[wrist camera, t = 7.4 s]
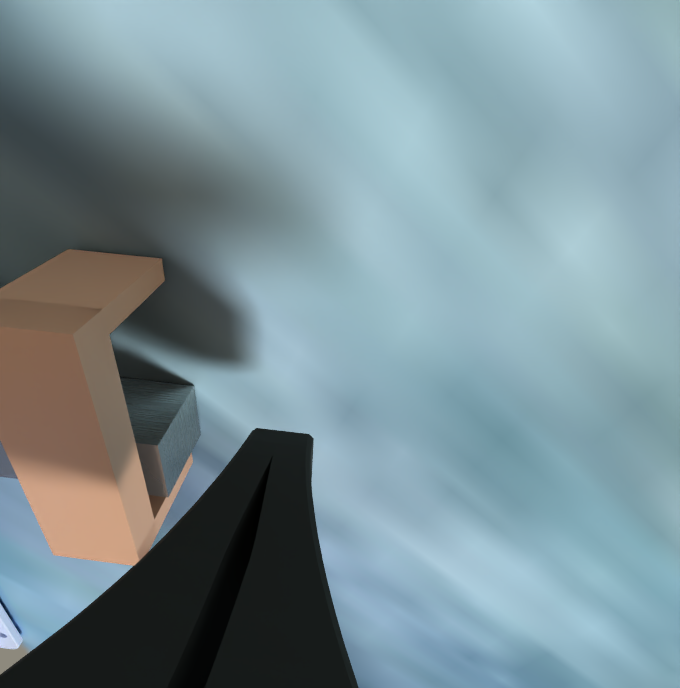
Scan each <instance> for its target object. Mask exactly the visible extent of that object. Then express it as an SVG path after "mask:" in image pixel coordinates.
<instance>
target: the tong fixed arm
mask: <svg viewBox="0 0 680 688" xmlns="http://www.w3.org/2000/svg"><path fill="white" fill-rule="evenodd" d="M120 381H121V385H122V389H123V393H124V397H125V401H126V405H127V409H128V414H129V418H130V422H131V426H132V430H133V434H134V438H135V442H136V446H137V451H138V455H139V459H140V463H141V467H142V471H143V475H144V479H145V483H146V488H147V492H148V495H153V496H161V497H169V495H170V494H171V492H172V490H173V488H174V486H175V484H176V482H177V480H178V478H179V476H180V474H181V472H182V470H183V468H184V466H185V464H186V462H187V460H188V458H189V456H190V454H191V452H192V450H193V448H194V446H195V444H196V442H197V441H198V439H199V437H200V435H201V434H200V427H199V419H198V412H197V404H196V397H195V390H194V386H192V385H183V384H174V383H165V382H157V381H148V380H139V379H130V378H121V377H120ZM0 477H8V478H16V479H18V477H17V475H16V473H15V471H14V469H13V467H12V465H11V462H10V460H9V458H8V456H7V454H6V452H5V449H4V447H3V445H2V443H1V441H0Z"/></svg>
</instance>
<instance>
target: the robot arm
mask: <svg viewBox="0 0 680 688" xmlns="http://www.w3.org/2000/svg"><path fill="white" fill-rule="evenodd" d="M312 459H313V438H312V437H311V436H310V435H309V434H303V433H294V432H286V431H277V430H269V429H260V428H256V429H255V430H253V431H252V432H251V433H250V435H249V436H248V438H247V439H246V441H245V442H244V444H243V445H242V446H241V448H240V449H239V450H238V452H237V453H236V454H235V456H234V457H233V458H232V460H231V461H230V462H229V463H228V465H227V466H226V467H225V469H224V470H223V471H222V472H221V474H220V475H219V476H218V477H217V478H216V480H215V481H214V482H213V483H212V484H211V485H210V487H209V488H208V489H207V490H206V491H205V493H204V494H203V495H202V496H201V497H200V498H199V500H198V501H197V502H196V503H195V504H194V505H193V506H192V507H191V508H190V510H189V511H188V512H187V513H186V514H185V515H184V516H183V517H182V518H181V519H180V520H179V521H178V522H177V523H176V524H175V526H174V527H173V528H172V529H171V530H170V531H169V532H168V533H167V534H166V535H165V536H164V537H163V538H162V539H161V540H160V541H159V542H158V543H157V544H156V545H155V546H154V547H153V548H152V549H151V550H150V551H149V552H148V553H147V554H146V555H145V556H144V557H143V558H142V559H141V560H140V561H139V562H137V563H136V564H135V565H134V566H133V567H132V568H131V569H130V570H129V571H128V572H127V573H126V574H125V575H123V576H122V577H121V578H120V579H119V580H118V581H117V582H116V583H114V584H113V585H112V586H111V587H110V588H109V589H107V590H106V591H105V592H104V593H103V594H102V595H100V596H99V597H98V598H97V599H96V600H95V601H94V602H92V603H91V604H90V605H89V606H88V607H87V608H85V609H84V610H83V611H82V612H81V613H79V614H78V615H77V616H76V617H74V618H73V619H72V620H71V621H70V622H68V623H67V624H66V625H65V626H63V627H62V628H61V629H60V630H58V631H57V632H56V633H54V634H53V635H52V636H50V637H49V638H48V639H46V640H45V641H44V642H43V643H41V644H40V645H39V646H37V647H36V648H35V649H33V650H32V651H31V652H30V653H28V654H27V655H26V656H24V657H23V658H22V659H20V660H19V661H18V662H16V663H15V664H14V665H13V666H11V667H10V668H9V669H7V670H6V671H5V672H3V673H2V674H1V675H0V688H358V685H357V682H356V678H355V675H354V672H353V669H352V666H351V663H350V660H349V657H348V654H347V651H346V648H345V644H344V641H343V638H342V634H341V631H340V627H339V624H338V620H337V617H336V613H335V610H334V606H333V602H332V598H331V594H330V590H329V586H328V582H327V578H326V573H325V569H324V564H323V560H322V554H321V549H320V544H319V539H318V533H317V527H316V521H315V513H314V505H313V498H312V487H311V478H312ZM22 641H23V639H22V637H21V635H20V634H19V632H18V630H17V629H16V627H15V626H14V624H13V622H12V621H11V619H10V618H9V616H8V615H7V613H6V611H5V610H4V608H3V607H2V605H1V603H0V648H8V649H17V648H18V647H19V646H20V644H21V643H22Z"/></svg>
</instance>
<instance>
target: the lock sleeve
mask: <svg viewBox="0 0 680 688" xmlns="http://www.w3.org/2000/svg"><path fill="white" fill-rule="evenodd" d="M164 281H165V277H164V271H163V264H162V259H161V258H151V257H141V256H132V255H122V254H112V253H102V252H92V251H82V250H72V249H68V250H66V251H64V252H62V253H61V254H59V255H57V256H55V257H54V258H52V259H50V260H48V261H47V262H45V263H43V264H42V265H40V266H38V267H36V268H35V269H33V270H31V271H29V272H28V273H26V274H24V275H22V276H21V277H19V278H17V279H16V280H14V281H12V282H10V283H9V284H7V285H5V286H3V287H2V288H0V441H1V443H2V445H3V447H4V449H5V452H6V454H7V456H8V458H9V460H10V462H11V465H12V467H13V469H14V471H15V473H16V475H17V477H18V480H19V482H20V484H21V486H22V488H23V490H24V493H25V495H26V497H27V499H28V501H29V503H30V505H31V508H32V510H33V512H34V514H35V516H36V518H37V521H38V523H39V525H40V527H41V529H42V531H43V534H44V536H45V538H46V540H47V542H48V544H49V546H50V549H51V551H52V553H53V555H56V556H64V557H72V558H79V559H87V560H94V561H102V562H110V563H117V564H125V565H132V566H134V565H135V564H136V563H137V562H139V561H140V560H141V559H142V558H143V557H144V556H145V555H146V554H147V553H148V552H149V550H150V548H151V546H152V544H153V542H154V540H155V537H156V535H157V533H158V531H159V529H160V527H161V525H162V523H163V521H164V519H165V517H166V515H167V513H168V511H169V509H170V507H171V505H172V503H173V501H174V499H175V497H176V495H177V493H178V491H179V489H180V487H181V485H182V483H183V481H184V479H185V477H186V475H187V473H188V471H189V469H190V467H191V465H192V463H193V459H192V453H191V454H190V456H189V458H188V460H187V462H186V464H185V466H184V468H183V470H182V472H181V474H180V476H179V478H178V480H177V482H176V484H175V486H174V488H173V490H172V492H171V494H170V495H169V497H161V496H153V495H148V492H147V488H146V483H145V479H144V475H143V471H142V467H141V463H140V459H139V455H138V451H137V446H136V442H135V438H134V434H133V430H132V426H131V422H130V418H129V414H128V409H127V405H126V401H125V397H124V393H123V389H122V385H121V381H120V376H119V372H118V368H117V364H116V360H115V356H114V352H113V348H112V344H111V339H110V335H109V334H110V333H111V332H113V331H114V330H115V329H116V328H117V327H118V326H119V325H120V324H121V323H122V322H123V321H124V320H125V319H126V318H127V317H128V316H129V315H130V314H131V313H132V312H133V311H134V310H135V309H136V308H137V307H138V306H139V305H140V304H141V303H143V302H144V301H145V300H146V299H147V298H148V297H149V296H150V295H151V294H152V293H153V292H154V291H155V290H156V289H157V288H158V287H159V286H160V285H161V284H162V283H163V282H164Z"/></svg>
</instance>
